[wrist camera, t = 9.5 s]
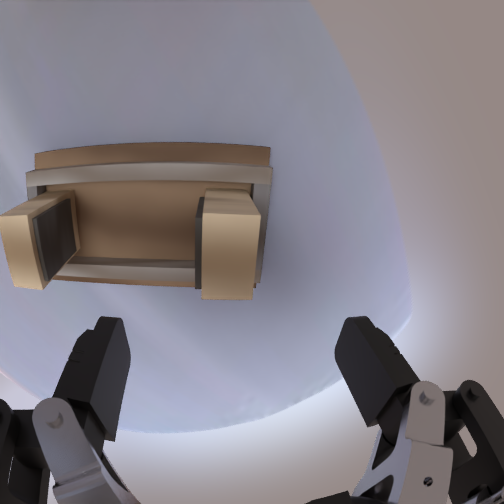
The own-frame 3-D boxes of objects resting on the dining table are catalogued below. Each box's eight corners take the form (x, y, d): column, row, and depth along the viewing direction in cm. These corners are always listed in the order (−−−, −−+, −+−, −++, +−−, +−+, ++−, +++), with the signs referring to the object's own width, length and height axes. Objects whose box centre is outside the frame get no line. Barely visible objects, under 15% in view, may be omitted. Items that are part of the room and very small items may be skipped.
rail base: (43, 152, 18) (-18, 168, 10) (266, 146, 21) (297, 154, 13) (57, 272, 22) (17, 322, 15) (253, 279, 26) (270, 341, 18)
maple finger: (240, 251, 23) (252, 299, 16) (199, 250, 22) (194, 299, 16) (245, 189, 21) (260, 215, 14) (200, 187, 20) (195, 212, 14)
